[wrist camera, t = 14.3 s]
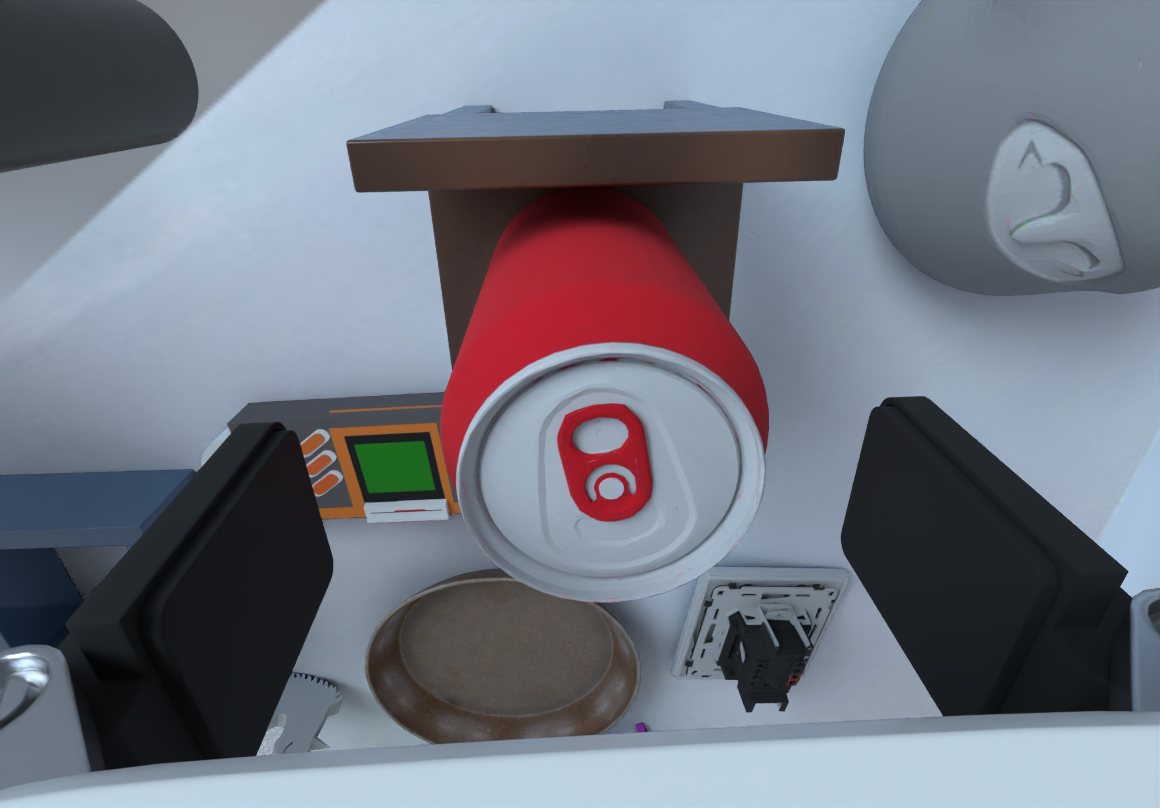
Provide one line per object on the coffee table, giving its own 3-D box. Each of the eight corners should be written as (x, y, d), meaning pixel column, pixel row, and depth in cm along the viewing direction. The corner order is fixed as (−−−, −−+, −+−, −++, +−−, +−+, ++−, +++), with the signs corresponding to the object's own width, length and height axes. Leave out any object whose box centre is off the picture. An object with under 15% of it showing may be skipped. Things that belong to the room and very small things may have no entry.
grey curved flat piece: (206, 653, 42) (352, 683, 44) (205, 666, 43) (349, 695, 44) (156, 732, 37) (323, 763, 39) (156, 745, 38) (320, 775, 39)
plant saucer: (449, 745, 47) (443, 785, 44) (325, 591, 39) (307, 629, 36) (667, 687, 45) (674, 726, 42) (582, 509, 36) (583, 543, 34)
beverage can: (517, 375, 22) (478, 647, 12) (470, 204, 19) (362, 362, 9) (686, 343, 22) (802, 595, 11) (664, 162, 19) (794, 278, 8)
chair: (483, 323, 31) (419, 533, 17) (461, 103, 26) (344, 140, 12) (680, 317, 31) (778, 520, 17) (694, 97, 26) (847, 128, 12)
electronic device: (177, 430, 31) (471, 414, 30) (209, 401, 33) (481, 386, 32) (224, 533, 34) (491, 521, 33) (251, 500, 36) (499, 488, 36)
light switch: (667, 666, 43) (798, 664, 45) (686, 731, 39) (829, 727, 41) (699, 560, 38) (843, 562, 40) (724, 622, 34) (884, 622, 36)
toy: (779, 77, 25) (1019, 115, 13) (1111, -196, 22) (1951, -543, 9) (917, 324, 32) (1170, 519, 19) (1193, 148, 28) (1750, 243, 15)
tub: (74, 617, 40) (14, 685, 36) (-10, 475, 34) (-93, 534, 30) (249, 612, 40) (211, 678, 36) (193, 468, 35) (139, 526, 30)
